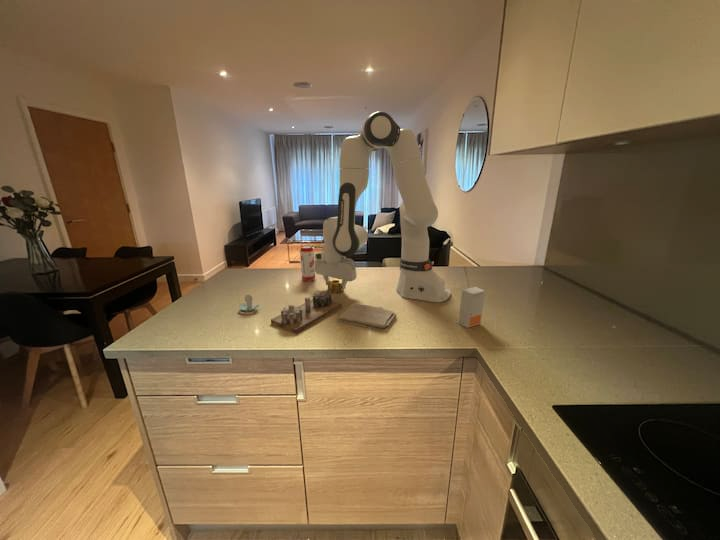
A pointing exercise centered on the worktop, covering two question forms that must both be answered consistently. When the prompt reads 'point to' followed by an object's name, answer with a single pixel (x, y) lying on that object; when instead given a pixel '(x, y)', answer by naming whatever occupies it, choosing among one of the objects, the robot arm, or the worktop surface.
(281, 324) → the gear board
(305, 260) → the beer can
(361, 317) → the washcloth
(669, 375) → the worktop surface
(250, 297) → the pacifier
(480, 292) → the skincare box
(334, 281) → the brass gear
